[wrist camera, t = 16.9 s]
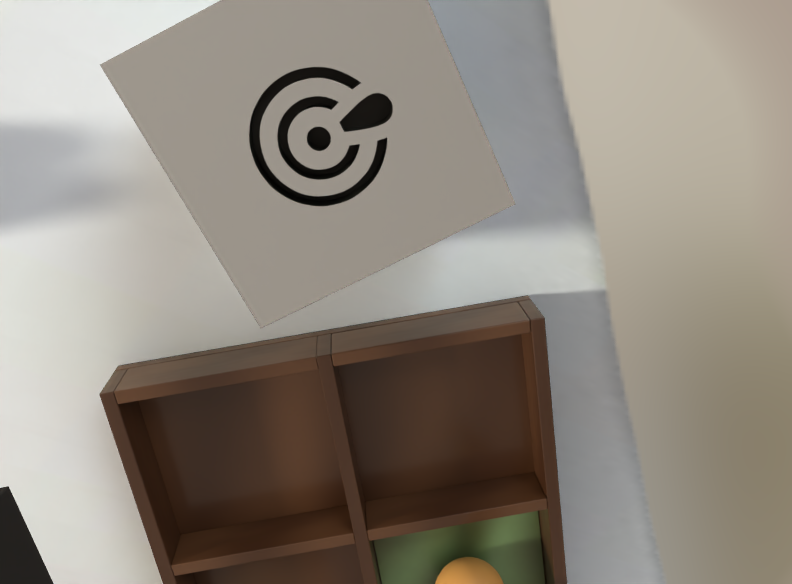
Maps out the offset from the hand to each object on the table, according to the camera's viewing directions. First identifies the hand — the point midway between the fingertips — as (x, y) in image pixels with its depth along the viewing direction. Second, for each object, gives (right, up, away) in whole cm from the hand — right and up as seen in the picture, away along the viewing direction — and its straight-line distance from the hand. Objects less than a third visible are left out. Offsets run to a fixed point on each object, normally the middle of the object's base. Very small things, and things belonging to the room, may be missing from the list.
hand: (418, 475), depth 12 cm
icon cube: (-4, +12, +21) cm, 24 cm away
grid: (-2, -9, +28) cm, 30 cm away
